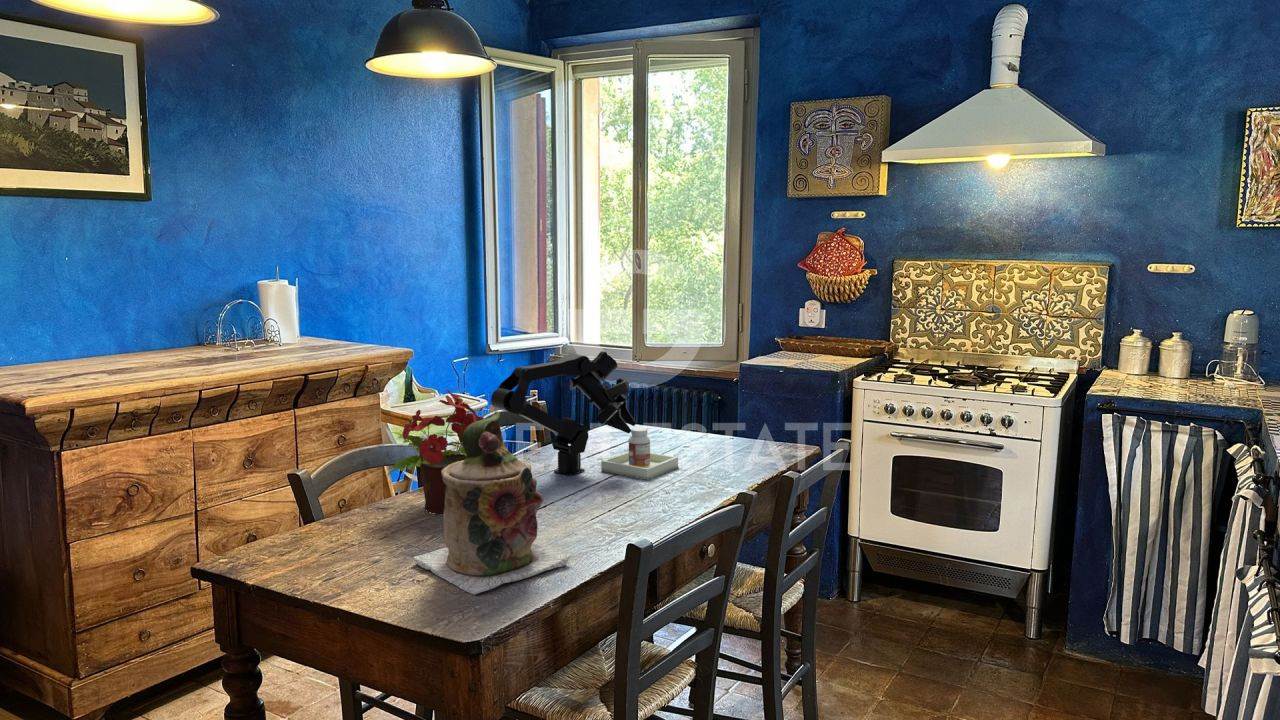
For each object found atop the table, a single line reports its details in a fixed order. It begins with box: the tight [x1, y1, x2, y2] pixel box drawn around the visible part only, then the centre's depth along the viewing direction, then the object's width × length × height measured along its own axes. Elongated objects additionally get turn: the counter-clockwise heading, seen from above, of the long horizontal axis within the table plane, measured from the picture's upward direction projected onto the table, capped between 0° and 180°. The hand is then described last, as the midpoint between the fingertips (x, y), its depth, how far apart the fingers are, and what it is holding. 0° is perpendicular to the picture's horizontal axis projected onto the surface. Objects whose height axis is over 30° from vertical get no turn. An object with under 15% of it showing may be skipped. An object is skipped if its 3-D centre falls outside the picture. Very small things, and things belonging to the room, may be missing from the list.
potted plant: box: [386, 388, 485, 515], centre depth 224 cm, size 30×27×30 cm
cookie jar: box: [413, 410, 572, 595], centre depth 183 cm, size 25×25×32 cm
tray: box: [600, 450, 679, 481], centre depth 258 cm, size 16×16×3 cm
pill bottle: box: [628, 426, 651, 468], centre depth 257 cm, size 6×6×11 cm
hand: (632, 428), depth 256 cm, fingers open, 9 cm apart
